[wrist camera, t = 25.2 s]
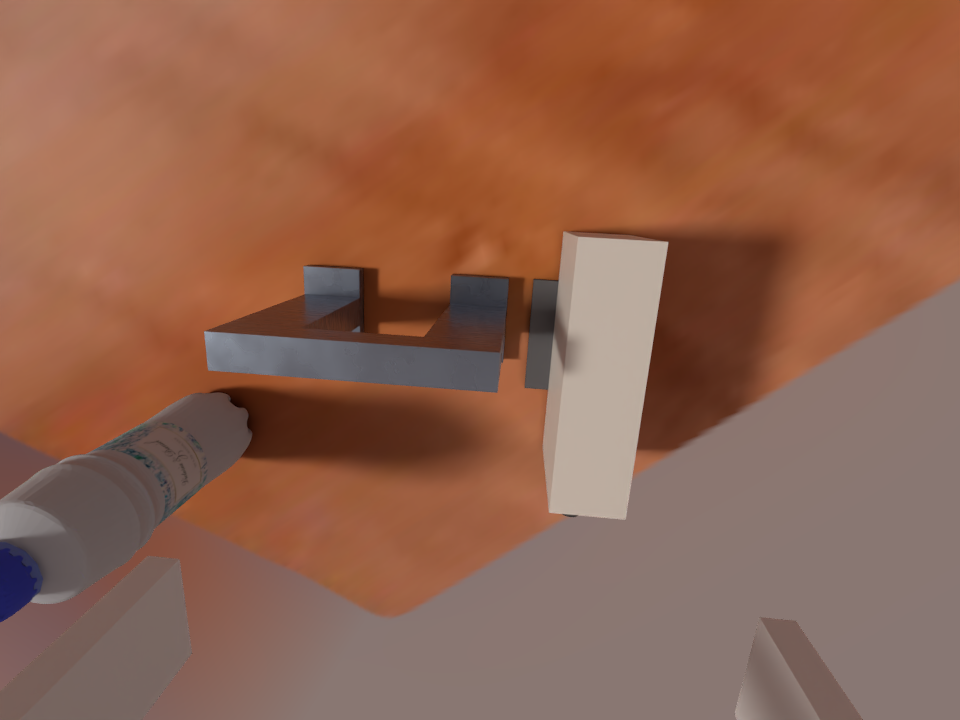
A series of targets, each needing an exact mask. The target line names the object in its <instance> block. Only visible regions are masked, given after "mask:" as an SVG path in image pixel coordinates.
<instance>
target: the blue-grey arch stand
mask: <svg viewBox="0 0 960 720" xmlns="http://www.w3.org/2000/svg"><path fill="white" fill-rule="evenodd" d="M508 285H509V278H508V277H492V276H477V275H461V274H452V275H451V292H450V305H449V306H448V307H447V309H446V310H445V311H444V312H443V314H442V315H441V316H440V317H439V319H438V320H437V321H436V322H435V324H434V325H433V326H432V328H431V329H430V330H429V331H428V333H427V334H426V335H425V336H424V337H417V336H403V335H389V334H375V333H364V275H363V268H351V267H335V266H319V265H307V266H304V287H305V295H302V296H299V297H296V298H294V299H291V300H288V301H285V302H283V303H280V304H277V305H275V306H272V307H269V308H266V309H264V310H261V311H258V312H256V313H253V314H250V315H247V316H245V317H242V318H239V319H236V320H234V321H231V322H228V323H226V324H223V325H220V326H217V327H215V328H212V329H209V330H207V331H204V334H205V344H206V353H207V363H208V370H211V371H224V372H237V373H250V374H263V375H276V376H289V377H302V378H315V379H328V380H341V381H354V382H367V383H380V384H393V385H406V386H419V387H432V388H445V389H458V390H471V391H484V392H497V391H498V384H499V376H500V368H501V363H503V357H504V343H505V328H506V314H507V299H508Z"/></svg>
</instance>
